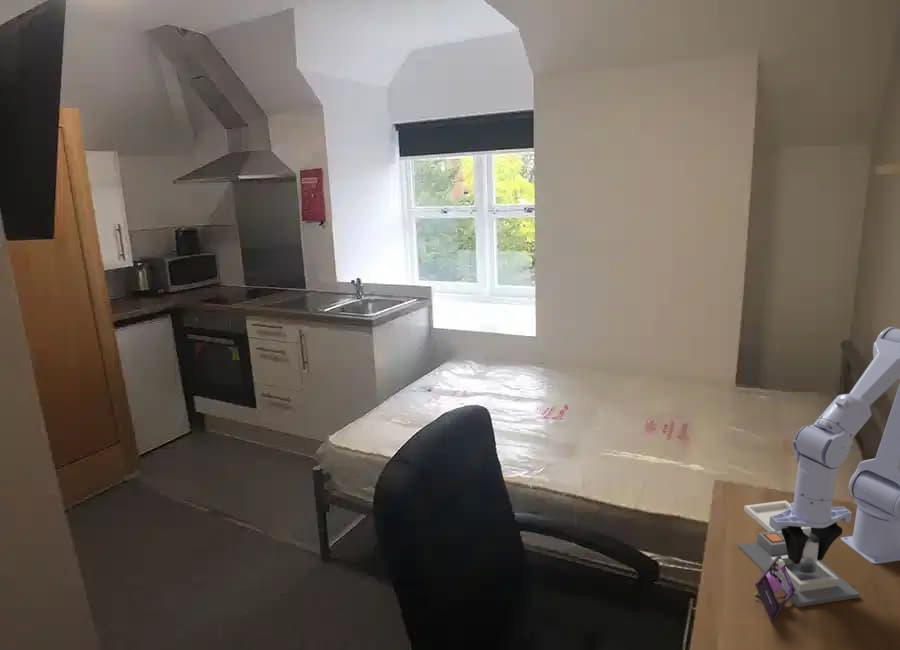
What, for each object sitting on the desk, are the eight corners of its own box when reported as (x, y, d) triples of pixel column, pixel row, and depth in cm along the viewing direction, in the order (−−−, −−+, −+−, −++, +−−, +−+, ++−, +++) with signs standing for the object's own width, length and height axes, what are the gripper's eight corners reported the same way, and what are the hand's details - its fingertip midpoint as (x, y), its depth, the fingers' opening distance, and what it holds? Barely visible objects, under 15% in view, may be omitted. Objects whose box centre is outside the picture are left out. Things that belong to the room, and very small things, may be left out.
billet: (806, 558, 108) (809, 530, 106) (821, 572, 104) (825, 543, 103) (785, 560, 108) (789, 531, 106) (799, 574, 104) (803, 545, 102)
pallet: (792, 540, 117) (794, 527, 116) (859, 597, 101) (861, 583, 100) (737, 548, 115) (739, 535, 115) (797, 607, 100) (798, 592, 99)
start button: (774, 541, 115) (775, 533, 115) (782, 548, 113) (783, 540, 112) (764, 542, 115) (765, 534, 114) (771, 549, 113) (772, 541, 112)
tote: (784, 505, 129) (785, 500, 128) (818, 532, 119) (819, 526, 119) (743, 511, 127) (744, 505, 127) (774, 538, 118) (775, 532, 117)
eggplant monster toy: (760, 584, 96) (784, 555, 101) (732, 580, 101) (756, 552, 106) (776, 622, 96) (799, 591, 101) (747, 616, 101) (770, 587, 106)
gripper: (833, 476, 107) (824, 540, 110) (761, 485, 105) (754, 550, 108) (865, 496, 100) (854, 564, 103) (788, 506, 98) (780, 575, 101)
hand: (804, 558), depth 105 cm, fingers closed on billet, 4 cm apart
